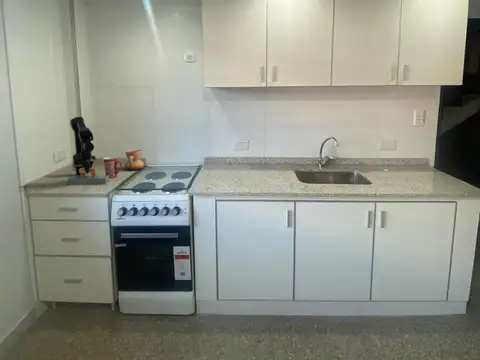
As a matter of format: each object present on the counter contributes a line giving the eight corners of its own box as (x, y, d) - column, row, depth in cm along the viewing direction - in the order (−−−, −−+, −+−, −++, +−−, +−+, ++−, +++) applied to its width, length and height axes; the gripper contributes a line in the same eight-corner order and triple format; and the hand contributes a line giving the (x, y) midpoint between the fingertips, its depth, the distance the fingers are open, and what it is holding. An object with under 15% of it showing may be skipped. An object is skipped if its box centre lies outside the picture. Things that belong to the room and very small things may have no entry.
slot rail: (72, 181, 296) (72, 175, 295) (109, 181, 297) (108, 175, 296) (68, 184, 288) (67, 178, 287) (105, 184, 288) (105, 178, 287)
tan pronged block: (81, 177, 293) (80, 167, 292) (96, 177, 294) (96, 167, 292) (79, 178, 290) (79, 169, 288) (95, 178, 290) (94, 168, 289)
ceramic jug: (128, 166, 345) (127, 148, 342) (147, 167, 344) (146, 148, 341) (120, 171, 328) (119, 152, 325) (140, 171, 327) (139, 152, 323)
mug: (102, 178, 306) (100, 158, 303) (108, 175, 315) (107, 156, 312) (119, 178, 304) (118, 159, 301) (125, 176, 313) (123, 157, 310)
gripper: (78, 147, 296) (80, 170, 300) (68, 151, 278) (70, 176, 282) (95, 147, 297) (96, 170, 300) (86, 151, 278) (88, 176, 282)
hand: (88, 173), depth 291 cm, fingers closed on tan pronged block, 3 cm apart
